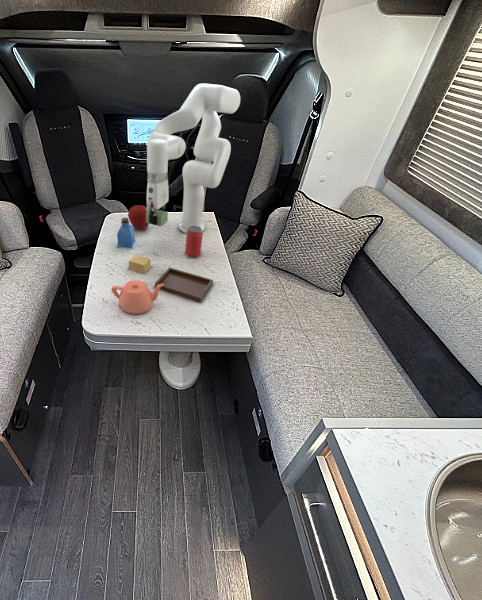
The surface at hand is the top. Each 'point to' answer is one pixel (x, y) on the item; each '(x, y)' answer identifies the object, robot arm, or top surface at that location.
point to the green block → (159, 217)
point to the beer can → (193, 241)
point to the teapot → (136, 296)
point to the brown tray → (184, 284)
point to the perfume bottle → (125, 234)
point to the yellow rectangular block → (139, 263)
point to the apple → (138, 217)
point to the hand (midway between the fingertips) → (156, 220)
